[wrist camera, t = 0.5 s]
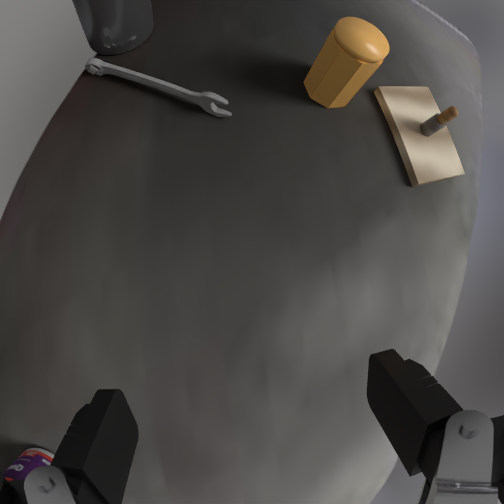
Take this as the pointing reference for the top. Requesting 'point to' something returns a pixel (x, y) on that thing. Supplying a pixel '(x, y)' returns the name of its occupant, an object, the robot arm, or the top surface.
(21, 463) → the pill bottle
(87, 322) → the top surface
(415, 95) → the post board
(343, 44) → the octagonal lidded canister
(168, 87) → the combination wrench
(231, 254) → the top surface
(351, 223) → the top surface
